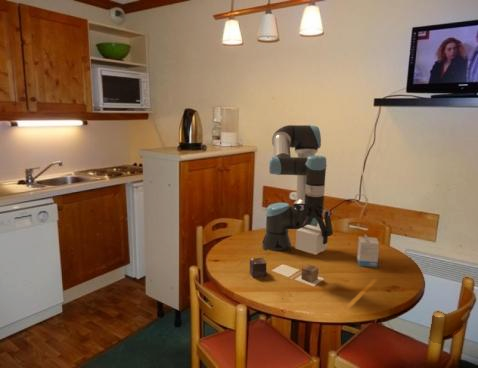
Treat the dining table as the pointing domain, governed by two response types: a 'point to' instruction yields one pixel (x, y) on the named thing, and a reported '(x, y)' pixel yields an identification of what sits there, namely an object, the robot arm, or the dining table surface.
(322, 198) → the robot arm
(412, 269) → the dining table surface
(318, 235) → the block
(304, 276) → the block
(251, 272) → the box
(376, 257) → the ink box
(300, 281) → the board
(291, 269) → the pad
